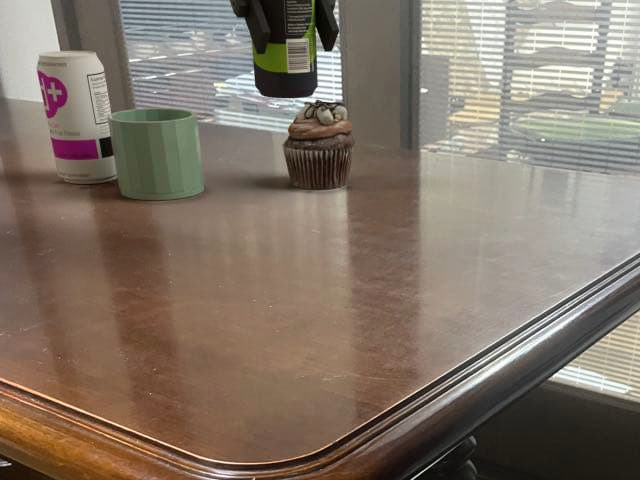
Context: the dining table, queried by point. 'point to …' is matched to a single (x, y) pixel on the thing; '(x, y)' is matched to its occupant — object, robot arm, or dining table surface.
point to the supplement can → (77, 115)
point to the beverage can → (288, 50)
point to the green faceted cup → (157, 153)
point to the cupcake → (319, 146)
